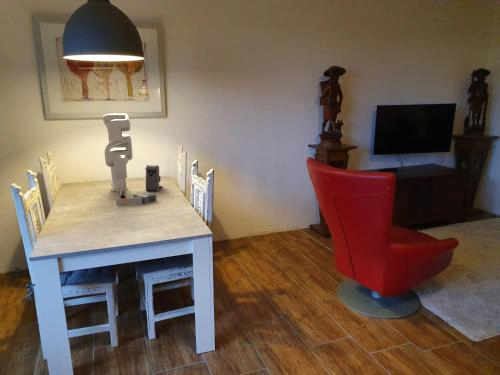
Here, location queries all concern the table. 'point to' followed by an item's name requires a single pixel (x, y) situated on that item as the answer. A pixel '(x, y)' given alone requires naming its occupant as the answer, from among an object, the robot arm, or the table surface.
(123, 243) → the table surface
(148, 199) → the housing
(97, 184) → the table surface
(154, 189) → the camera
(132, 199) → the side door
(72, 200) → the table surface
